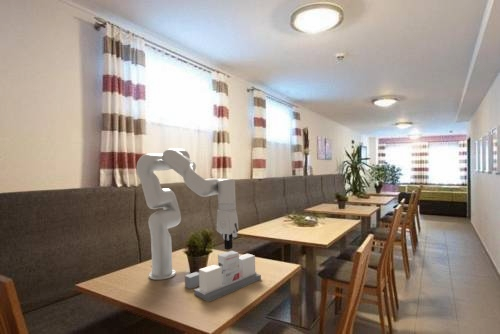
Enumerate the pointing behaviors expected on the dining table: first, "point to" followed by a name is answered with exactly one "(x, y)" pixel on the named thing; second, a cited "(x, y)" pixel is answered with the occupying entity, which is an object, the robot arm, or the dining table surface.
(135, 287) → the dining table surface
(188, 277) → the block
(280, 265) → the dining table surface
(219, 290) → the rail panel
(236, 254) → the ink box
